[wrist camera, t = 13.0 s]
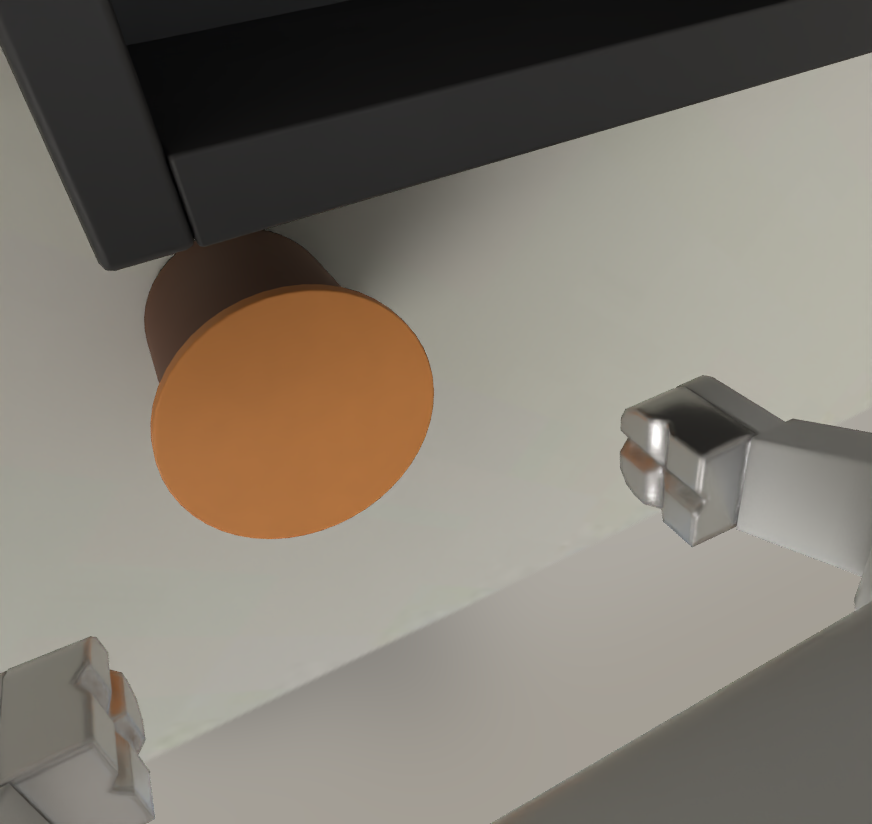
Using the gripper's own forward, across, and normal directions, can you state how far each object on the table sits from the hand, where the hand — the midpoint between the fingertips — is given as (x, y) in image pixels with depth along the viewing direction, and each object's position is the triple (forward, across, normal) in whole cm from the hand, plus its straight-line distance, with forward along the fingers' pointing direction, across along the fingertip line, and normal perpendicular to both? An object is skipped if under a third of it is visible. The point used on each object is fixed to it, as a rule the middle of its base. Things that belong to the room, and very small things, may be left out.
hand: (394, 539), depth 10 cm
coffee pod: (+8, 0, 0) cm, 8 cm away
